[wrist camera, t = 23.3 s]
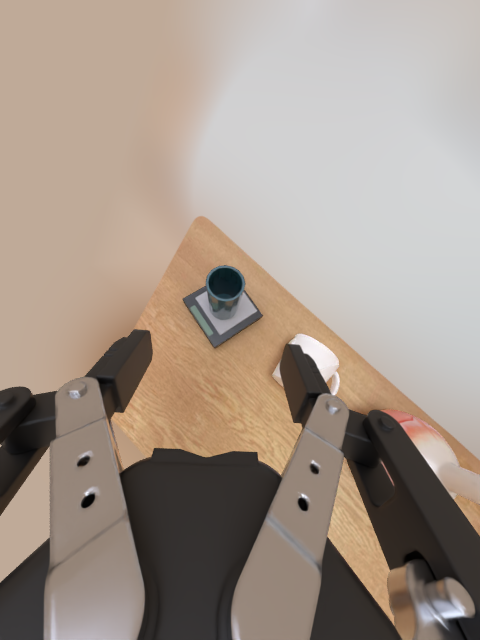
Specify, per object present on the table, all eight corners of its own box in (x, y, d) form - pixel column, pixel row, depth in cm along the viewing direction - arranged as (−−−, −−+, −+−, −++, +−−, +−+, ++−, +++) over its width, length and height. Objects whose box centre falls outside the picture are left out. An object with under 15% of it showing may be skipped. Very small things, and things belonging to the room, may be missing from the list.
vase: (384, 499, 36) (529, 611, 19) (327, 445, 38) (417, 507, 21) (416, 437, 40) (563, 486, 23) (363, 390, 41) (465, 403, 24)
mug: (264, 371, 40) (275, 371, 32) (289, 336, 42) (305, 329, 35) (311, 410, 39) (334, 420, 31) (334, 372, 41) (361, 373, 34)
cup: (219, 325, 39) (220, 308, 28) (203, 302, 39) (198, 277, 29) (243, 310, 40) (252, 288, 29) (227, 288, 41) (230, 259, 30)
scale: (214, 348, 40) (214, 347, 37) (184, 302, 42) (181, 297, 39) (261, 317, 43) (263, 314, 40) (230, 275, 44) (231, 269, 42)
